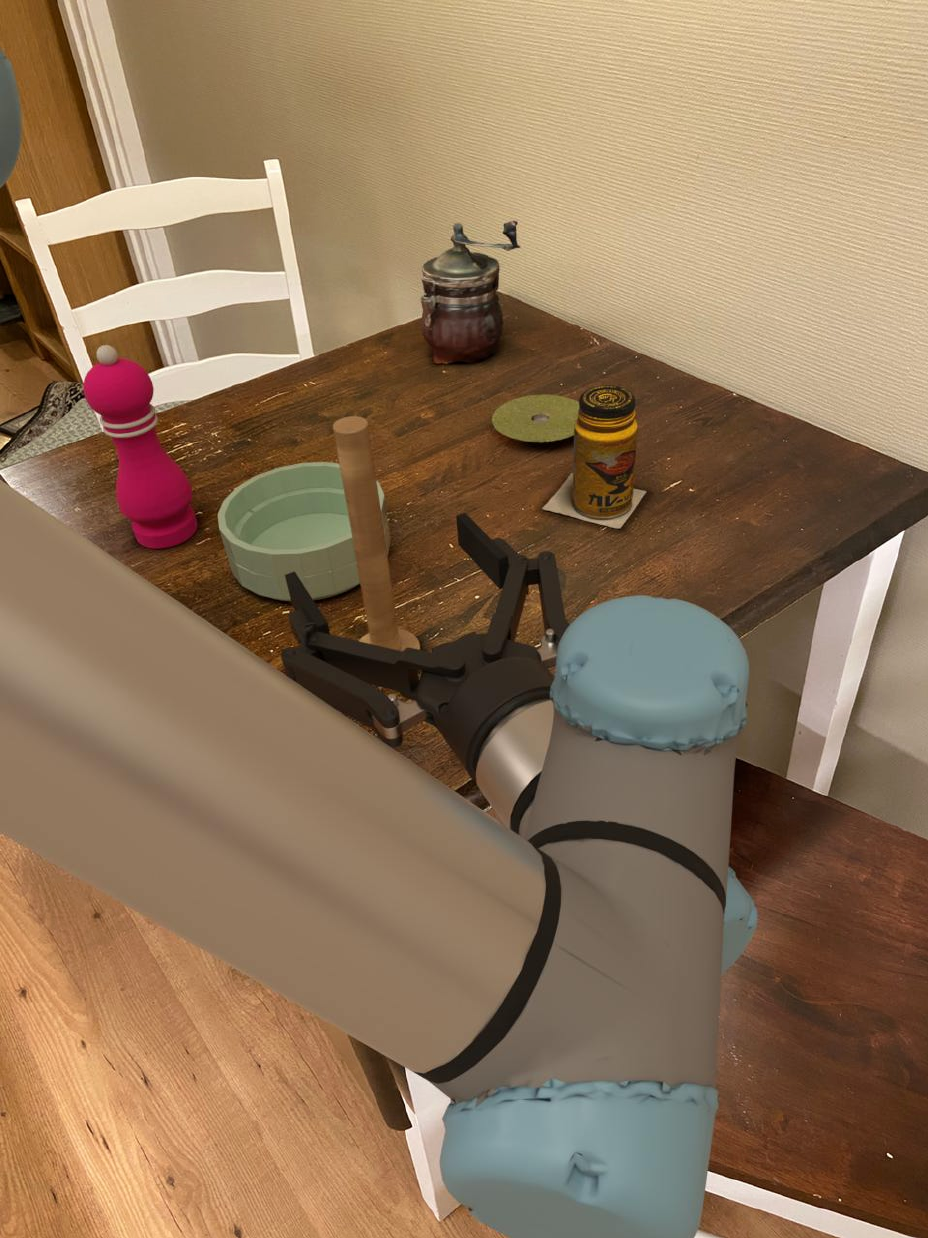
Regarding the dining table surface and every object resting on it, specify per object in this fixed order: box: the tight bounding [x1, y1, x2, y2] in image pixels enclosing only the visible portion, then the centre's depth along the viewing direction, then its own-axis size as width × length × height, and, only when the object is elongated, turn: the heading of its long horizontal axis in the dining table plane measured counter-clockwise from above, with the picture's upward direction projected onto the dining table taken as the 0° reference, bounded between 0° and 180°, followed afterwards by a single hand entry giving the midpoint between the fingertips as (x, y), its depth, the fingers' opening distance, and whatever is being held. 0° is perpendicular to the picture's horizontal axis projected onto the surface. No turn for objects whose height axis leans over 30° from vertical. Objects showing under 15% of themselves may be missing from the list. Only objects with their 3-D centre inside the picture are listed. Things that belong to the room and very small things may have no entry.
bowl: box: [217, 461, 392, 602], centre depth 84 cm, size 15×15×6 cm
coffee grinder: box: [420, 220, 521, 365], centre depth 113 cm, size 13×15×18 cm
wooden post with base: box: [332, 415, 422, 651], centre depth 67 cm, size 6×6×22 cm
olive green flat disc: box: [491, 393, 579, 443], centre depth 101 cm, size 11×11×2 cm
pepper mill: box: [83, 344, 199, 550], centre depth 84 cm, size 7×7×20 cm
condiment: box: [541, 384, 647, 529], centre depth 86 cm, size 7×8×12 cm
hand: (379, 557), depth 65 cm, fingers open, 13 cm apart
